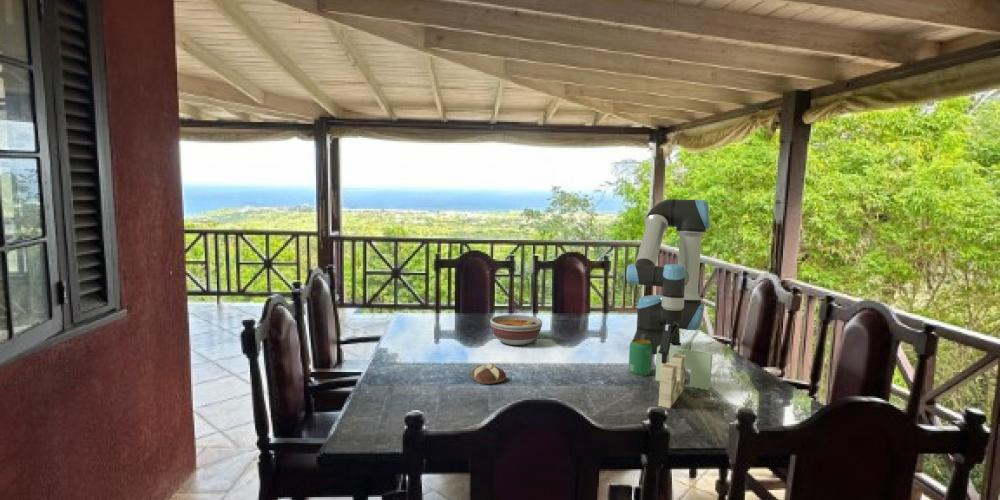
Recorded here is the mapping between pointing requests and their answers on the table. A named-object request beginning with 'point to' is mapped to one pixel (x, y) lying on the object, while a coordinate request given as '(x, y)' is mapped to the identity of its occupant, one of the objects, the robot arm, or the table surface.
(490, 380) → the bread
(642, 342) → the beverage can
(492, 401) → the table surface
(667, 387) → the wooden block structure
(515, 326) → the bowl
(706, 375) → the pale green rectangular block
